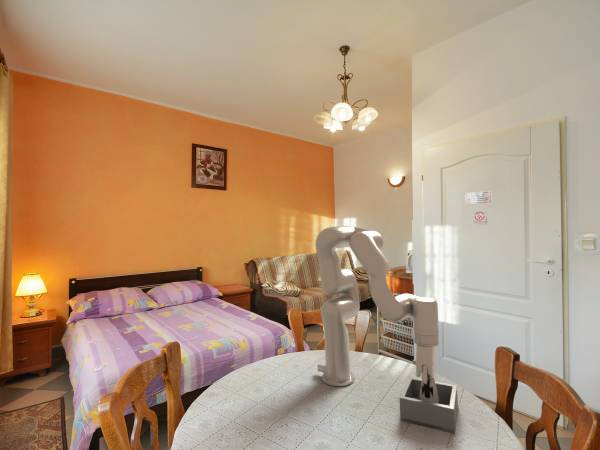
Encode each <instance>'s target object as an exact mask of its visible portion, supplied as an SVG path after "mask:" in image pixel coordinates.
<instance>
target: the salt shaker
mask: <svg viewBox="0 0 600 450" xmlns="http://www.w3.org/2000/svg"><path fill="white" fill-rule="evenodd" d="M428 376H429V375H428ZM427 380H428V381H429V379H427ZM435 380H436V379H435V376H434V377H433V379H432V387H433V396H432V394H431V392H430V398H426V397H425V396H424V393H423V396H422V381H421V388H420V394H419V399H420V400H423V401H428V402H432V403H437V404H438V402H439V397H438V393H437V388H436V384H435V382H436V381H435Z"/></svg>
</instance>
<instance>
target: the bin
mask: <svg viewBox="0 0 600 450" xmlns="http://www.w3.org/2000/svg"><path fill="white" fill-rule="evenodd" d="M421 381H422V378H419V377H412V376H409V377H408V378H407V380H406V382H405V384H404V387H403V389H402V391H401V394H400V396H399V413H400V414H399V415H400V416H399V418H400V422H404V423H407V424H409V423H410V424H413V425H417V426H421V427H424V428H429V429H433V430H436V431H437V430H438V431H442V432H445V433H449V434H454V435H455V434H456V428H457V420H458V409H459V401H458V384H450V383H445V382H440V381H435V384H436V388H437V393H438V397H439V402H438V404H437V403H432V402H428V401H423V400H420V399H419V394H420V388H421Z"/></svg>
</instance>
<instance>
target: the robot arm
mask: <svg viewBox="0 0 600 450" xmlns="http://www.w3.org/2000/svg"><path fill="white" fill-rule="evenodd" d="M383 247H384V240H383V237H382V235H381V234H380V233H379V232H377V231H375V230H371V229H366V228H361V227H357V226H351V225H344V226H342V225H341V226H329V227H326V228H323V229H322V230H320V231H319V233H318V235H317V236H316V239H315V251H316V256H317V259H318V260H317V261H318V267H319V276H320V284H321V289H322V292H323V293H324V294H325V295H327V296H335V295H338V296H337V297H333V298H330V299H327V300H325V302H323V303H322V305H321V307H320V316H321V320H322V325H323V334H324V354H325V356H324V357H325V358H324V359H325V364H322V363H318V364H317V371H318V372H320V373H323V374H322V376H321V377H322V382H323V383H325V384H327V385H329V386H332V387H346V386H349V385H351V384H353V383H354V382H355V377H356V376H355V374H354V373H353V372H351V359H350V357H351V356H350V337H349V330H348V328H347V326H346V323H345V321H348V320H349V319H352V318H355V317H356V316H357V315H358V314H359V312H360V306H361V305H360V297H359V296H360V295H359V287H358V282H357V281H358V280H357V278H356V275H355V273H354V272H353V271H352V270H351V269H349V268H342V267H341V259H340V257H339V254H338V252H337V251H336V250H337V249H344V248H350V249H351V251H352V253H353V255H354V256H355V258H356V259H357V261H358V262H359V264H360V265H361V267H362V268H363V271H365V273H366V275H367V277H368V286H369V287H368V288H369V293H370V297H371V298H372V301H373V302H374V305H376V307H377V309H378V310H379V312H380V313H381V315H382V316H383V317H384V318H385V319H386V320H387V321H390V322H392V323H398V322H401V321H403V320H406V319H407V318H411V317H412V331H413V332H412V333H413V334H412V335H413V343H414V344H416V347H415V348H416V350H415V376H416V378H420V377H421V379H422V396H423V393H424V396H425V397H426V398H430V392H431V394H432V396H433V387H432V379H433V377H434V378H435V373H436V369H437V352H436V351H437V348H436V346H439V345H440V333H439V332H440V329H439V309H438V308H439V307H438V306H439V305H438V301H437V300H436V299H435V298H432V297H426V296H425V297H424V296H422V297H420V296H417V295H413V294H411V293H402V294H399V295H398V294H397V295H394V294H393V292H392V291H391V289H390V287H389V285H388V282H387V274H388V271H389V269H390V263H389V261H388V260H387V258H386V257H385V255H384V254H383V252H382V251H381V250H382V249H383ZM428 375H429V376H428ZM427 379H429V381H428V380H427Z"/></svg>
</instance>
